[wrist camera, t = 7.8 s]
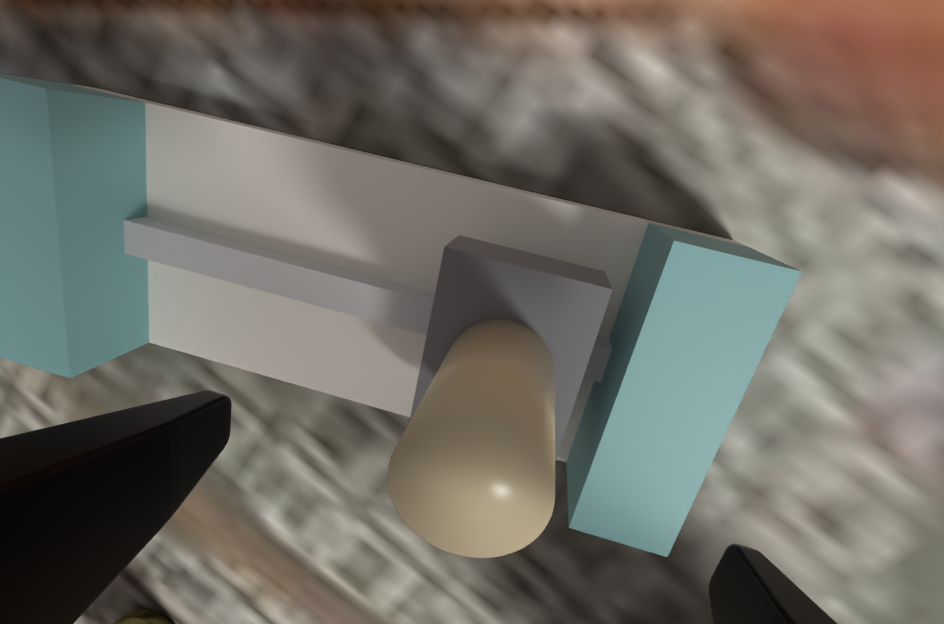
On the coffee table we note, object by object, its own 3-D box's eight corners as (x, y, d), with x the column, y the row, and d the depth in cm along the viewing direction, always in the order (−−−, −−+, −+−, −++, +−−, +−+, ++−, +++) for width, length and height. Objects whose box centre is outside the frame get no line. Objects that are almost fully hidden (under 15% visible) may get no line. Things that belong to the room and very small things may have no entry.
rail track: (641, 465, 18) (667, 557, 14) (108, 314, 20) (-9, 354, 16) (734, 240, 15) (801, 271, 11) (97, 87, 17) (-50, 65, 13)
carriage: (549, 426, 17) (545, 644, 9) (430, 392, 17) (332, 576, 10) (601, 264, 15) (650, 374, 7) (465, 230, 15) (376, 301, 8)
